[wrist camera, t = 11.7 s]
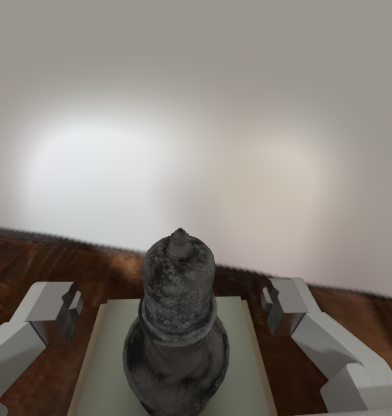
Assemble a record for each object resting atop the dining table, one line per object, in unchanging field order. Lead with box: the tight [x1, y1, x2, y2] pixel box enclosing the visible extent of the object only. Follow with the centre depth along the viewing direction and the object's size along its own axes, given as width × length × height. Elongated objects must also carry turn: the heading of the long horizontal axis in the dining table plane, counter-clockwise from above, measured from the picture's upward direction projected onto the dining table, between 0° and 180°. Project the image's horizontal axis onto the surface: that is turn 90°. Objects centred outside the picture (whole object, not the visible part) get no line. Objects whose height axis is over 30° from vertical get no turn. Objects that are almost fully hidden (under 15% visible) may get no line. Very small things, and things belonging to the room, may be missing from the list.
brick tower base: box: [67, 296, 278, 416], centre depth 16 cm, size 14×14×6 cm
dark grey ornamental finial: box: [122, 228, 230, 416], centre depth 11 cm, size 6×6×12 cm
